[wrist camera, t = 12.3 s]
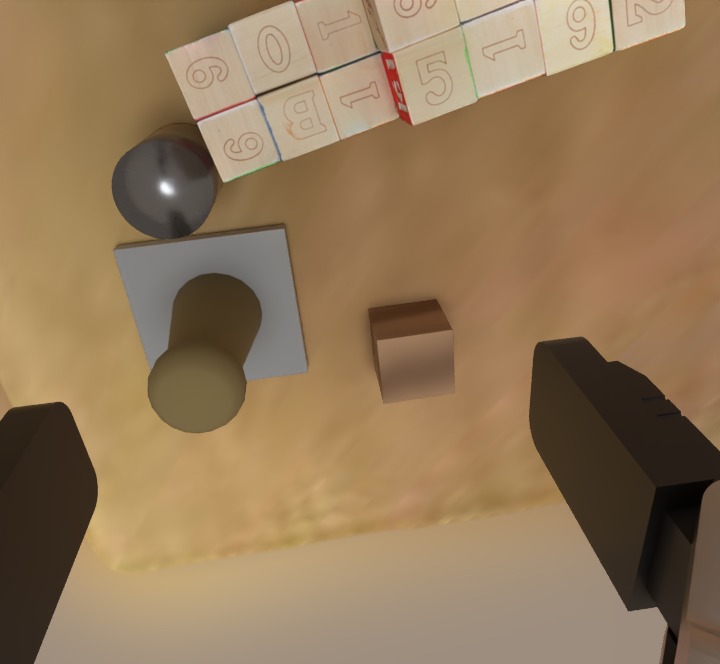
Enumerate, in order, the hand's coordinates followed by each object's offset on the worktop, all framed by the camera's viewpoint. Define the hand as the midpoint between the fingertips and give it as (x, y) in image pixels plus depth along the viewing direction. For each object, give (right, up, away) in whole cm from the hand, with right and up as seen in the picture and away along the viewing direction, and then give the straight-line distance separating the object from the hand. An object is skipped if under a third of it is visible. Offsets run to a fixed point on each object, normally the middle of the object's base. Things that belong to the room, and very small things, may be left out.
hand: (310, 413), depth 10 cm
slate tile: (-9, +3, +31) cm, 32 cm away
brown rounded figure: (-9, +3, +30) cm, 31 cm away
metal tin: (-10, +12, +26) cm, 30 cm away
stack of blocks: (+2, +19, +24) cm, 31 cm away
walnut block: (+4, +1, +33) cm, 33 cm away
